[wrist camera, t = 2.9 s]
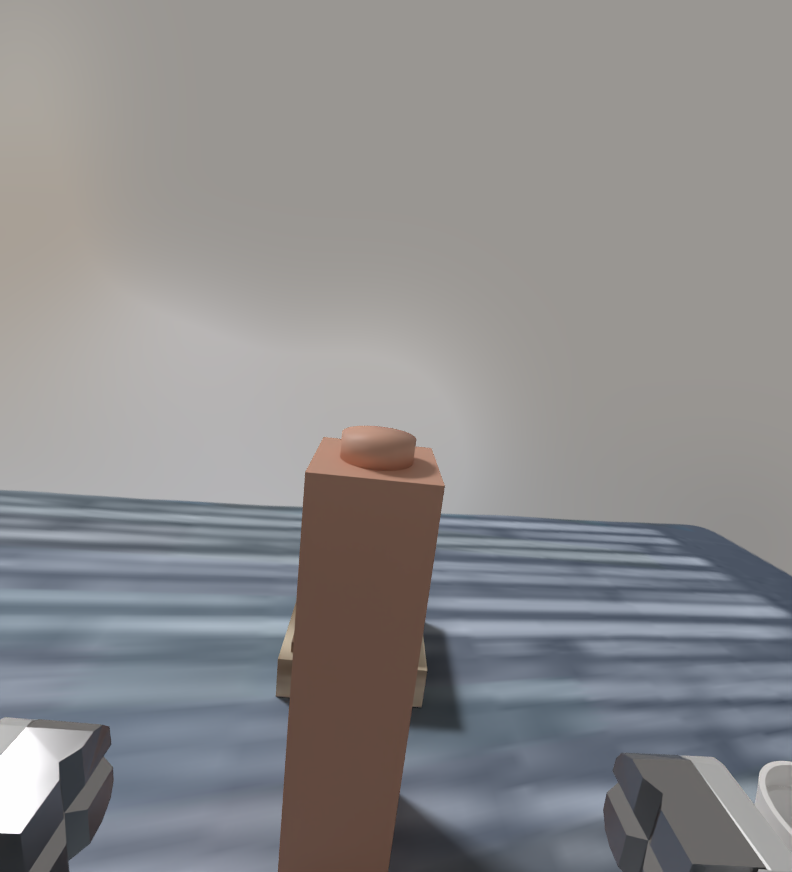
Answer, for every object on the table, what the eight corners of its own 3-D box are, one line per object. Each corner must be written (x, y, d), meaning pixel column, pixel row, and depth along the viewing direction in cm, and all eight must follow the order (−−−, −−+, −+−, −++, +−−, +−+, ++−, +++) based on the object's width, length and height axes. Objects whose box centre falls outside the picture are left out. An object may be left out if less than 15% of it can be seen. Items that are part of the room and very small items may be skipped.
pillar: (385, 889, 21) (448, 459, 16) (276, 883, 21) (307, 444, 16) (385, 784, 26) (434, 427, 21) (297, 778, 26) (325, 415, 21)
